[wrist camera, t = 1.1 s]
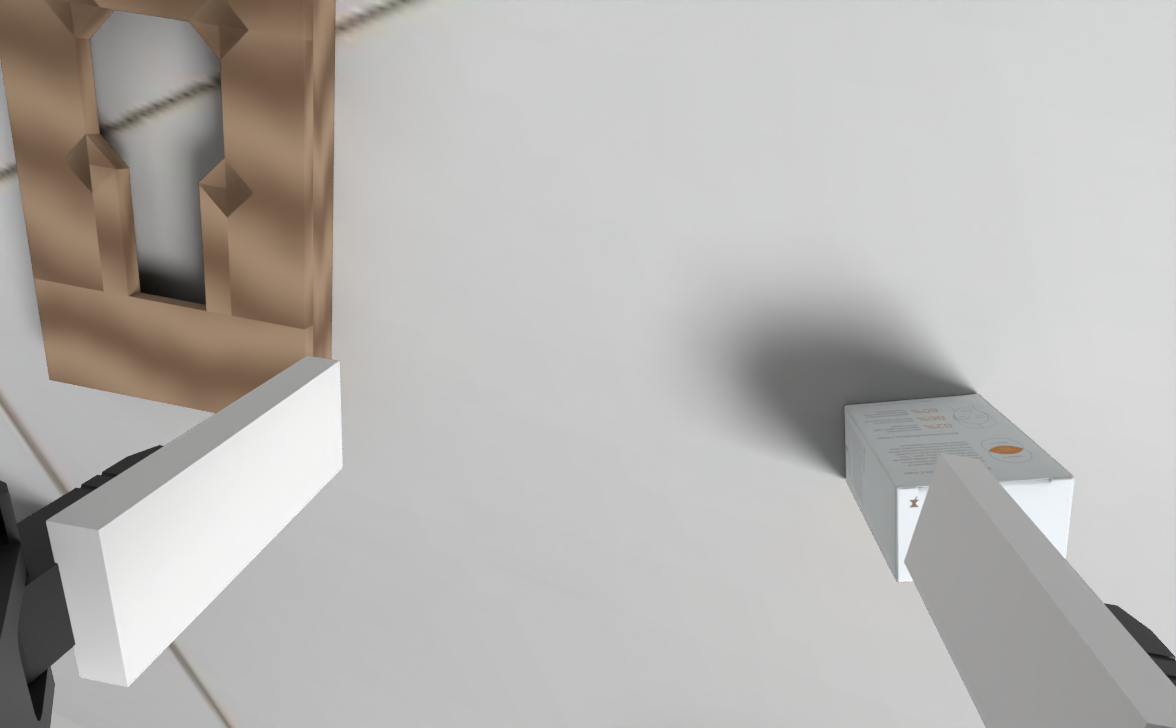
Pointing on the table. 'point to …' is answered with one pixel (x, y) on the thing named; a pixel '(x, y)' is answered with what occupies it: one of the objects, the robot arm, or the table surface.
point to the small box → (910, 454)
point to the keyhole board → (227, 201)
